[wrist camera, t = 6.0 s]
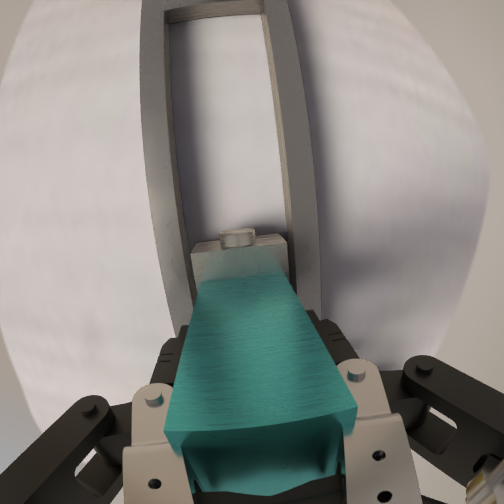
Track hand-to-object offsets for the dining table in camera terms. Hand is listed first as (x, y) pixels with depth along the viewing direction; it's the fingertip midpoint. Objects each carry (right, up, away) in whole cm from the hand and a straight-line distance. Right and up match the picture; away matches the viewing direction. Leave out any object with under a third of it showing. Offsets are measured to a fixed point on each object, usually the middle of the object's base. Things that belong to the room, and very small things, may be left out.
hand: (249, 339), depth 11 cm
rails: (-1, +5, +3) cm, 6 cm away
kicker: (0, +1, +4) cm, 4 cm away
